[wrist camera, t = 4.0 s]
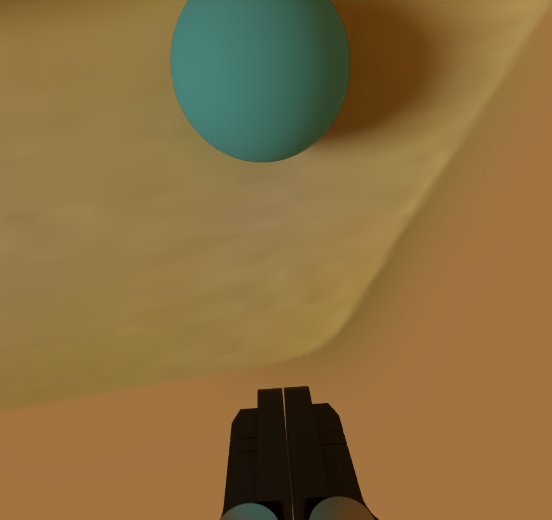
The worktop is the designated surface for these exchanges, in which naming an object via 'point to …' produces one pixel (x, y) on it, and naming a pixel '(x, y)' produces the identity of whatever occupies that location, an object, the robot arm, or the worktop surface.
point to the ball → (260, 73)
